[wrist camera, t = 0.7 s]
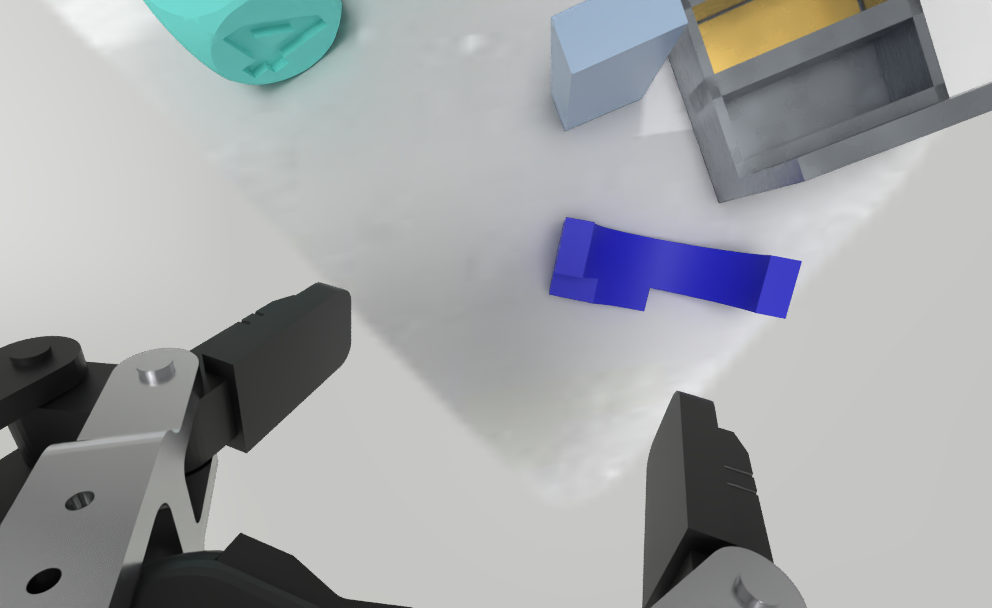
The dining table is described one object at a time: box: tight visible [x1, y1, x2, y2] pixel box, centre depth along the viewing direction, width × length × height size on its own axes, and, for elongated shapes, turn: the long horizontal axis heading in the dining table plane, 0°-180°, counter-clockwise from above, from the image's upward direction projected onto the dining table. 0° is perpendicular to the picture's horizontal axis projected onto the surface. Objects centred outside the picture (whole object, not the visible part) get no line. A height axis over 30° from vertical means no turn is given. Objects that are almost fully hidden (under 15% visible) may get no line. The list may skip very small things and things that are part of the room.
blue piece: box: [549, 217, 802, 319], centre depth 27 cm, size 12×4×6 cm, turn 79°
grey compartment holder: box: [668, 0, 992, 203], centre depth 23 cm, size 11×10×10 cm
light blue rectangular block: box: [551, 0, 688, 131], centre depth 24 cm, size 2×5×10 cm, turn 111°
